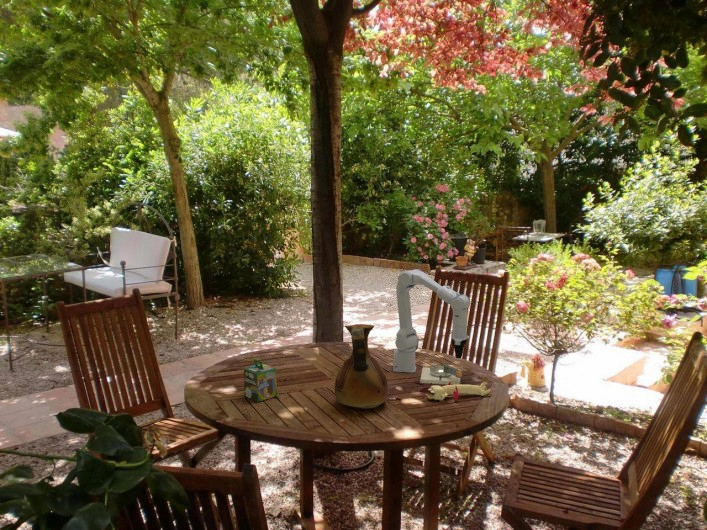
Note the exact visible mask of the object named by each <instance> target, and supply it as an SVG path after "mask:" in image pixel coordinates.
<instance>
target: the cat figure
mask: <svg viewBox="0 0 707 530" xmlns="http://www.w3.org/2000/svg"><path fill="white" fill-rule="evenodd" d="M481 379H482V381H483V382H481V384H479V385H478V384H477V385H476V384H475V385H474V384H473V385H472V384H460V385H450V384H451V383H452V382H449V383H448V384H445V385H442V386H441V385H431V386H430V388H427V389H426V392H427V393H425V396H427V399H428V400H435V401H437V400H439V401H444V400H445V398H446V397H448V396H450V395H453V398H454V402H455V401H458V399H459V394H469V395H476V396H481V397H482V396H485V395H486V397H488V396H490V397H491V396H492V393H491V392H492V391H491V389H487V386H486V385H488V384H489V378H488V377H487V376H486V375H482V377H481ZM428 393H429V394H428Z"/></svg>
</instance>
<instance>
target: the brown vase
mask: <svg viewBox="0 0 707 530" xmlns="http://www.w3.org/2000/svg"><path fill="white" fill-rule="evenodd" d="M344 327H345V328H346V330H347V331H348V333H349V334H350V336H351V337H350V338H351V345H352V346H351V347H352V350H351V351H352V352H351V355H350V357H348V358H347V359H346V360H345V361H344V362H343V363H342V365H341V366H340V367H339V369H338V371H337V373H336V378H335V381H334V396H335V400H336V401H337V402H338V403H341V404H342V405H344V406H348V407H353V408H361V409H374V408H377V407H379V406H380V405H382V404H383V403H384V402H385V401H386V399H387V397H388V392H389V385H388V380H387V375H386V373H385V370H384V368H383V367H382V365H381V364H380V362H379V361H378V360H377V359H376V358H375V357H373V356H372V355H371V353H370V351H369V346H368V345H369V344H368V343H369V335H370V333H371V331H372V330H373V329H374V328H375V325H374V324H366V323H365V324H364V323H357V324H350V325H345V326H344Z"/></svg>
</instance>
